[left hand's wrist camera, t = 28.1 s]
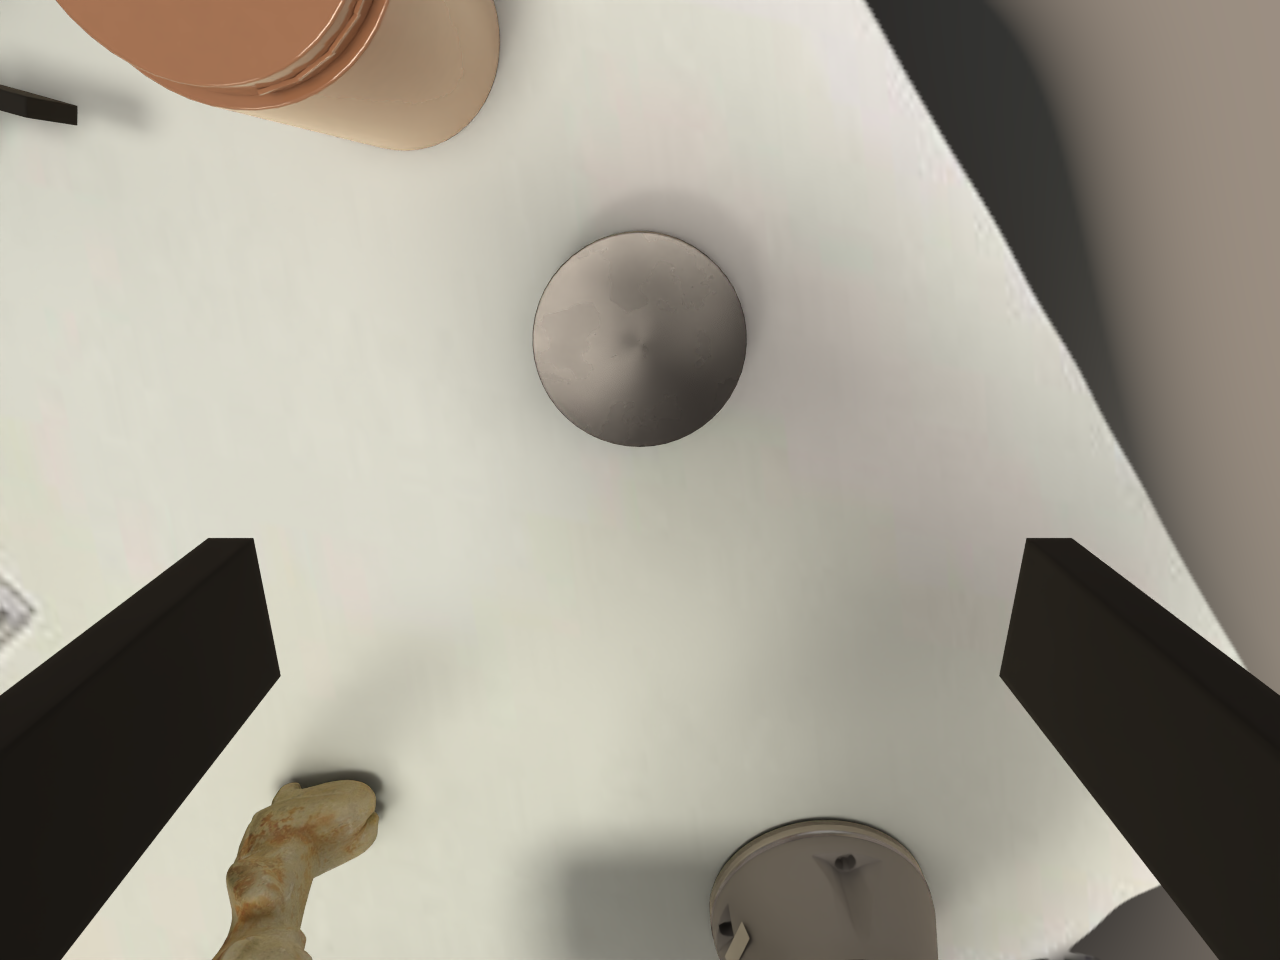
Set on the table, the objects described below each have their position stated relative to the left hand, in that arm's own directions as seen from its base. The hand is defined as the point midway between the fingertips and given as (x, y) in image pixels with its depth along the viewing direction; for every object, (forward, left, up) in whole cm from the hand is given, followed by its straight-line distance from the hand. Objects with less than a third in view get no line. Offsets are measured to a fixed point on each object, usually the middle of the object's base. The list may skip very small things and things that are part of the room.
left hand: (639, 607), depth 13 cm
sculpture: (-11, +35, -28) cm, 46 cm away
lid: (0, 0, -26) cm, 26 cm away
